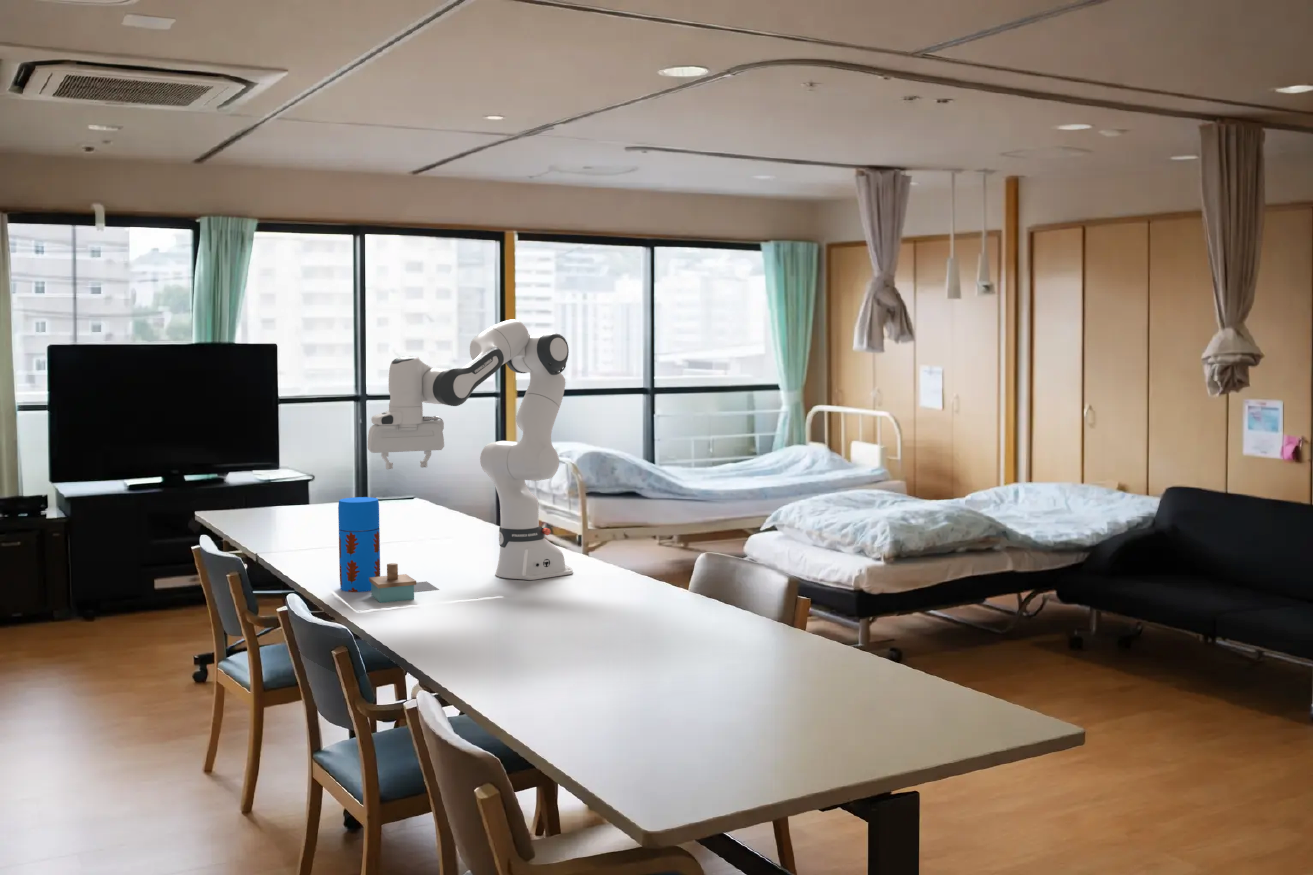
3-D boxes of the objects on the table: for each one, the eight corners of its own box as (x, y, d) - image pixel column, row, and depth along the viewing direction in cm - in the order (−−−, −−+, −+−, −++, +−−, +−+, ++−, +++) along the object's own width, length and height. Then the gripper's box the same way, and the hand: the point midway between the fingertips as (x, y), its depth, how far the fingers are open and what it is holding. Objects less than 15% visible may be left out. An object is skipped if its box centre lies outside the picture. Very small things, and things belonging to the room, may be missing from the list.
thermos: (370, 594, 322) (368, 503, 320) (333, 593, 324) (331, 501, 322) (386, 586, 333) (385, 497, 331) (350, 585, 335) (349, 496, 333)
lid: (406, 577, 323) (405, 559, 323) (416, 584, 314) (416, 565, 314) (369, 581, 318) (368, 562, 318) (378, 588, 310) (378, 569, 309)
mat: (426, 583, 337) (426, 581, 337) (439, 591, 327) (439, 589, 326) (384, 587, 332) (384, 585, 332) (396, 596, 321) (396, 593, 321)
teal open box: (404, 594, 323) (404, 578, 322) (414, 601, 315) (413, 584, 314) (371, 598, 318) (371, 581, 318) (380, 604, 311) (379, 587, 310)
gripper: (440, 415, 328) (440, 465, 329) (365, 417, 319) (366, 468, 320) (447, 416, 322) (447, 467, 324) (371, 418, 313) (372, 471, 314)
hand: (406, 468), depth 322 cm, fingers open, 8 cm apart
